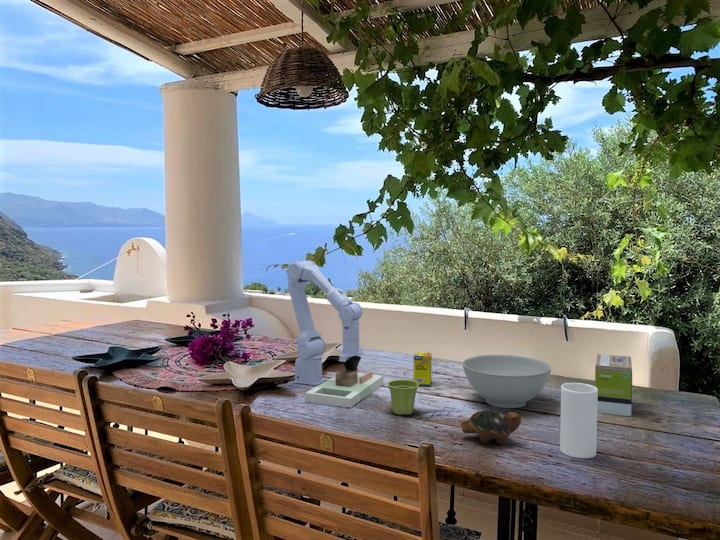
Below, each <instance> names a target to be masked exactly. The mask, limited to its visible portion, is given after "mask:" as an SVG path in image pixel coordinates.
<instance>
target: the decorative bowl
mask: <svg viewBox="0 0 720 540" xmlns="http://www.w3.org/2000/svg"><path fill="white" fill-rule="evenodd" d="M462 367H463V371H464V374H465V376H466V379H467V381H468V382H469V385H470V386H471V387H472V388H473V390H474V391H475V392H476V393H477V394H478V395H480V396H481V397H482V398H484V400H485V402H486V404H488V405H491V406H493V407H498V408H504V409H515V408H516V409H518V408H522V407H525V406H526V405H527V402H528V401H530V400H532V399H533V398H535V397H536V396H537V395H539V394H540V392H541V391H542V390H543V389H544V387H545V385H547V382H548V380H549V377H550V375H551V371H552V367H551V365H550V364H548V363H547V362H545V361H543V360H540V359H536V358H532V357H527V356H521V355H513V354H484V355H482V354H481V355H477V356H471V357H469V358H468V357H467V358H466V359H464V360H463V362H462Z"/></svg>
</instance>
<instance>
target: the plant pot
mask: <svg viewBox="0 0 720 540" xmlns="http://www.w3.org/2000/svg"><path fill="white" fill-rule="evenodd" d="M387 387H388V390H389V392H390V393H389V394H390V398H391V400H390V401H391V408H392V412H393V413H394V414H396V415H401V416H402V415H405V416H407V415H408V416H409V415H412V414H413V413H414V407H415V402H416V394H417V391H418V387H420V386H419V384H418V383H417V382H415V381H414V380H411V379H393V380H390V381H388V382H387Z"/></svg>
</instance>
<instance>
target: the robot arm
mask: <svg viewBox="0 0 720 540" xmlns="http://www.w3.org/2000/svg"><path fill="white" fill-rule="evenodd" d="M285 273H286V275H287V279H288V280H287V286H288V287H287V289H288V291H289V296H290V299H291V303H292V306H293V310H294V314H295V318H296V321H297V326H298V329H299V336H298V337H297V339H296V342H297V343H296V344H297V353H298V357H296V360H295V363H294V381H293V383H294V384H302V385H311V386H318V385H320V384H322V383H323V382H325V381H327V380H328V378H324V377H323V357H324V353H325V351H326V349H327V344H326V342H325V339H323V337H322V334H321V332H319V331H318V330H316V328H315V323H314V320H313V317H312V313H311V308H310V305H309V302H308V298H307V294H306V291H305V287H306V285H307V284H308V283H309V282H310V281H311V282H313V283H314V284H315V285H316V286H317V288H319V289H320V290H321V291H323V293H324V294H326V300H327V301H328V302H329V304H331V305H332V306H333V308H334V309H335V310H336V311H338V317H339V320H340V321H341V326H342V351H341V354H340V355H339V358H338V359H339V362H341V363H343V366H344V368H345V370H350V371H358V366H359V363H360V361H361V359H362V358H361V355H363V347H360V318H362V315H363V309H362V307H361V305H360V304H359V303H357V302H353V300H352V299H350V298H349V297H348V296H347V295H346V294H345V293H344V290H343V289H341V288H339V287H338V288H337V287H336V288H335V287H334V286H333V285H332V283H330V280H328V279H327V278H326V276H325V275H324V274H323V273H322V272H321V271H320V266H318V265H317V264H316V263H315V261H313V260H310V259H309V260H303V261H292V262H290V264H289V265H288V267H287V269H286V272H285Z"/></svg>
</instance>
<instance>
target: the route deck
mask: <svg viewBox="0 0 720 540" xmlns="http://www.w3.org/2000/svg"><path fill="white" fill-rule="evenodd" d="M384 383H385V382H384V375H380V374H373V371H372V370H371V371H367V372H366V373H360V372H357V383H356V384H355V385H353V386H352V387H345V386H336V375H334V376H332V377H331V378H329V379H327V380H325V381H324V382H322V383H320V384H318V385H315V387H313V388H311V389H310V390H308V391H306V392H305V394H304V396H305V397H304V399H305V400H304V401H305V403H309V404H317V405H324V406H330V405H332V407H338V406H342V407H341V408H345V407H349V408H348V409H352V408H353V407H355V406H356V405H357V404H359V403H360V402H361V401H363V400H364V399H365V398H367V397H368V396H369V395H371V394H372V393H374V392H375V391H376V390H377V389H379V388H381V385H382V384H383V385H384ZM383 385H382V386H383ZM378 387H379V388H378ZM374 390H375V391H374ZM370 393H371V394H370ZM366 396H367V397H366ZM363 398H364V399H363ZM362 399H363V400H362ZM360 400H361V401H360ZM359 401H360V402H359ZM358 402H359V403H358ZM356 403H357V404H356ZM355 404H356V405H355ZM354 405H355V406H354ZM352 406H353V407H352ZM351 407H352V408H351Z"/></svg>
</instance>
